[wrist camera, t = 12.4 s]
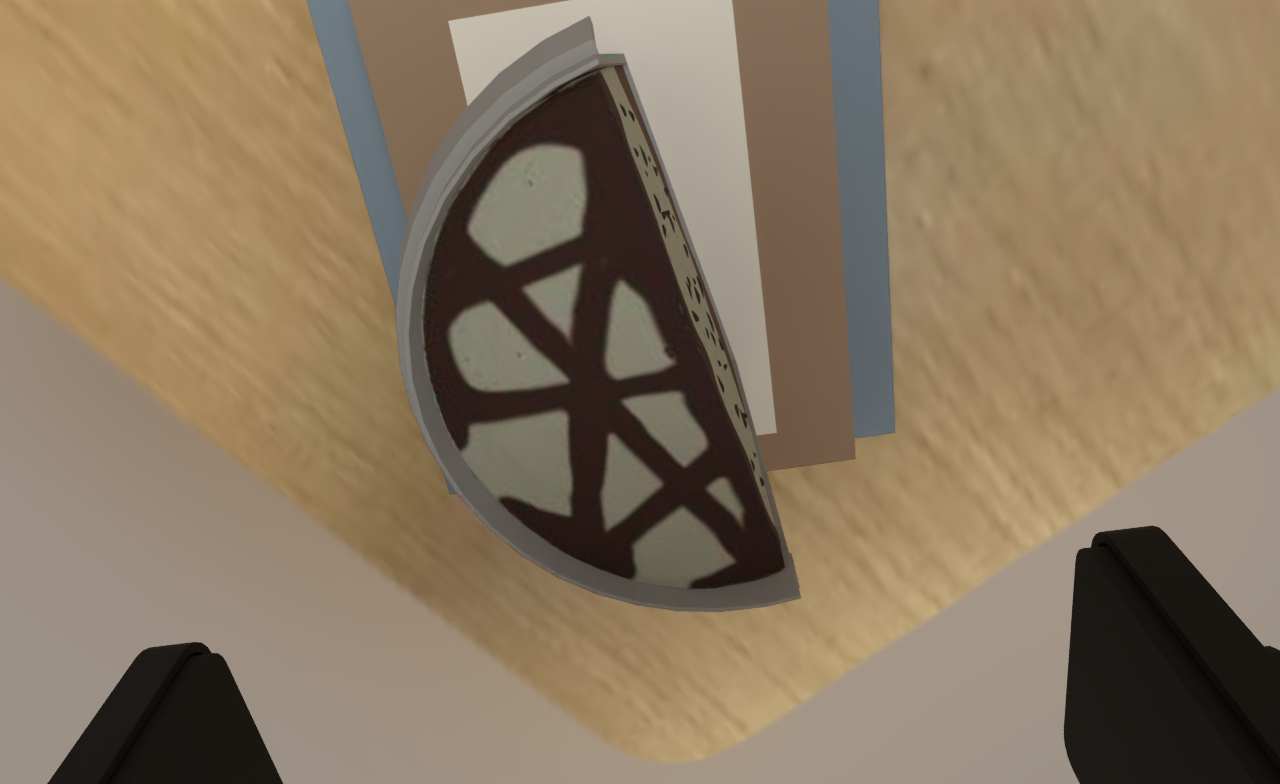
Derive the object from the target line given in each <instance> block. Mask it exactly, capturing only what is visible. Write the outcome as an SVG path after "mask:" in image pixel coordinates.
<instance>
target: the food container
mask: <svg viewBox="0 0 1280 784" xmlns="http://www.w3.org/2000/svg"><path fill="white" fill-rule="evenodd" d="M396 327H397V338H398V350H399V361H400V368H401V372H402V376H403V379H404V383H405V387H406V391H407V395H408V399H409V402H410V406H411V410H412V412H413V414H414V416H415V419H416V421H417V423H418V425H419V428H420V430H421V432H422V434H423V436H424V439H425V441H426V443H427V445H428V448H429V450H430V451H431V453H432V454H433V456H434V457H435V459H436V461H437V463H438V465H439V466H440V468H441V469H442V471H443V472H444V474H445V475H446V477H447V478H448V480H449V481H450V483H451V484H452V486H453V488H454V489H455V491H456V492H457V494H458V495H459V497H460V498H461V499H462V500H463V501H464V502H465V504H466V505H467V506H468V507H469V508H470V509H471V510H472V511H473V512H474V513H475V515H476V516H477V517H478V518H479V519H480V520H481V521H482V522H483V523H484V524H485V526H486V527H487V528H488V529H489V530H490V531H492V532H493V533H494V534H495V535H497V536H498V537H499V538H500V539H502V540H503V541H504V542H505V543H506V544H508V545H509V546H510V547H511V548H513V549H514V550H515V551H516V552H517V553H519V554H520V555H521V556H523V557H524V558H526V559H528V560H529V561H531V562H533V563H534V564H536V565H538V566H539V567H541V568H543V569H544V570H546V571H548V572H549V573H551V574H553V575H554V576H556V577H558V578H560V579H563V580H565V581H567V582H570V583H572V584H574V585H577V586H579V587H581V588H584V589H586V590H588V591H591V592H593V593H595V594H598V595H602V596H606V597H609V598H613V599H616V600H620V601H624V602H627V603H631V604H634V605H639V606H646V607H653V608H660V609H667V610H674V611H705V612H723V611H732V610H741V609H750V608H759V607H766V606H770V605H774V604H778V603H783V602H787V601H791V600H796V599H800V598H801V596H800V592H799V583H798V579H797V575H796V570H795V566H794V562H793V558H792V555H791V553H789V551H788V547H787V544H786V540H785V537H784V533H783V529H782V526H781V522H780V518H779V515H778V511H777V508H776V504H775V500H774V497H773V493H772V489H771V486H770V482H769V478H768V475H767V471H766V468H765V464H764V460H763V457H762V453H761V449H760V446H759V442H758V439H757V435H756V431H755V428H754V424H753V420H752V417H751V413H750V410H749V406H748V402H747V399H746V395H745V391H744V388H743V384H742V380H741V377H740V373H739V370H738V366H737V362H736V360H735V357H734V354H733V351H732V349H731V346H730V343H729V340H728V338H727V335H726V332H725V329H724V327H723V324H722V321H721V318H720V316H719V313H718V310H717V308H716V305H715V302H714V299H713V297H712V294H711V291H710V288H709V286H708V283H707V280H706V277H705V275H704V272H703V269H702V267H701V264H700V261H699V258H698V256H697V253H696V250H695V247H694V245H693V242H692V239H691V236H690V234H689V231H688V228H687V225H686V223H685V220H684V217H683V215H682V212H681V209H680V206H679V204H678V201H677V198H676V195H675V193H674V190H673V187H672V184H671V182H670V179H669V176H668V173H667V171H666V168H665V165H664V163H663V160H662V157H661V154H660V152H659V149H658V146H657V143H656V141H655V138H654V135H653V132H652V130H651V127H650V124H649V121H648V119H647V116H646V113H645V111H644V108H643V105H642V102H641V100H640V97H639V94H638V91H637V89H636V86H635V83H634V80H633V78H632V75H631V72H630V69H629V67H628V64H627V61H626V59H625V56H624V54H599V53H598V50H597V47H596V42H595V35H594V29H593V24H592V21H591V18H590V16H588V17H586V18H584V19H582V20H580V21H578V22H576V23H575V24H573V25H571V26H569V27H567V28H565V29H563V30H561V31H559V32H558V33H556V34H554V35H552V36H550V37H548V38H546V39H544V40H543V41H541V42H540V43H539V44H537V45H536V46H535V47H533V48H532V49H531V50H529V51H528V52H527V53H525V54H524V55H523V56H521V57H520V58H519V59H517V60H516V61H515V62H513V63H512V64H511V65H509V66H508V67H507V68H505V69H504V70H503V71H501V72H500V73H499V74H498V75H497V76H496V77H495V78H494V79H493V80H492V81H491V82H490V83H489V84H488V85H487V87H486V88H485V89H484V90H483V91H482V92H481V93H480V94H479V95H478V96H477V97H476V98H475V99H474V100H473V101H472V102H471V103H470V104H469V106H468V107H467V108H466V109H465V110H464V111H463V112H462V113H461V115H460V116H459V118H458V119H457V121H456V122H455V124H454V125H453V127H452V128H451V130H450V131H449V133H448V134H447V136H446V137H445V139H444V140H443V142H442V143H441V145H440V146H439V148H438V149H437V151H436V152H435V154H434V155H433V157H432V159H431V162H430V164H429V166H428V168H427V171H426V173H425V175H424V177H423V180H422V182H421V184H420V186H419V189H418V191H417V193H416V195H415V197H414V200H413V203H412V206H411V210H410V214H409V218H408V222H407V226H406V230H405V234H404V238H403V242H402V246H401V253H400V266H399V278H398V291H397V308H396Z"/></svg>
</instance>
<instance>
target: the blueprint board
mask: <svg viewBox="0 0 1280 784" xmlns="http://www.w3.org/2000/svg"><path fill="white" fill-rule="evenodd" d="M307 2H308V6H309V9H310V12H311V16H312V19H313V23H314V26H315V30H316V33H317V37H318V40H319V44H320V47H321V50H322V54H323V57H324V61H325V64H326V68H327V71H328V75H329V78H330V82H331V85H332V88H333V92H334V95H335V99H336V102H337V106H338V109H339V113H340V116H341V120H342V123H343V126H344V130H345V133H346V137H347V140H348V144H349V147H350V151H351V154H352V158H353V161H354V164H355V168H356V171H357V175H358V178H359V182H360V185H361V189H362V192H363V196H364V199H365V202H366V206H367V209H368V213H369V216H370V220H371V223H372V227H373V230H374V234H375V237H376V240H377V244H378V247H379V251H380V254H381V258H382V261H383V265H384V268H385V272H386V275H387V278H388V282H389V285H390V289H391V292H392V296H393V299H394V303H395V306H396V308H397V291H398V278H399V266H400V253H401V246H402V242H403V238H404V234H405V230H406V226H407V222H408V218H409V214H410V210H411V206H412V203H413V200H414V197H415V195H416V193H417V191H418V189H419V186H420V184H421V182H422V180H423V177H424V175H425V173H426V171H427V168H428V166H429V164H430V162H431V159H432V157H433V155H434V154H435V152H436V151H437V149H438V148H439V146H440V145H441V143H442V142H443V140H444V139H445V137H446V136H447V134H448V133H449V131H450V130H451V128H452V127H453V125H454V124H455V122H456V121H457V119H458V118H459V116H460V115H461V113H462V112H463V111H464V110H465V109H466V108H467V107H468V106H469V104H470V103H471V102H472V101H473V100H474V99H475V98H476V97H477V96H478V95H479V94H480V93H481V92H482V91H483V90H484V89H485V88H486V87H487V85H488V84H489V83H490V82H491V81H492V80H493V79H494V78H495V77H496V76H497V75H498V74H499V73H500V72H501V71H503V70H504V69H505V68H507V67H508V66H509V65H511V64H512V63H513V62H515V61H516V60H517V59H519V58H520V57H521V56H523V55H524V54H525V53H527V52H528V51H529V50H531V49H532V48H533V47H535V46H536V45H537V44H539V43H540V42H541V41H543V40H544V39H546V38H548V37H550V36H552V35H554V34H556V33H558V32H559V31H561V30H563V29H565V28H567V27H569V26H571V25H573V24H575V23H576V22H578V21H580V20H582V19H584V18H586V17H588V16H590V18H591V21H592V24H593V29H594V35H595V42H596V47H597V50H598V53H599V54H624V56H625V59H626V61H627V64H628V67H629V69H630V72H631V75H632V78H633V80H634V83H635V86H636V89H637V91H638V94H639V97H640V100H641V102H642V105H643V108H644V111H645V113H646V116H647V119H648V121H649V124H650V127H651V130H652V132H653V135H654V138H655V141H656V143H657V146H658V149H659V152H660V154H661V157H662V160H663V163H664V165H665V168H666V171H667V173H668V176H669V179H670V182H671V184H672V187H673V190H674V193H675V195H676V198H677V201H678V204H679V206H680V209H681V212H682V215H683V217H684V220H685V223H686V225H687V228H688V231H689V234H690V236H691V239H692V242H693V245H694V247H695V250H696V253H697V256H698V258H699V261H700V264H701V267H702V269H703V272H704V275H705V277H706V280H707V283H708V286H709V288H710V291H711V294H712V297H713V299H714V302H715V305H716V308H717V310H718V313H719V316H720V318H721V321H722V324H723V327H724V329H725V332H726V335H727V338H728V340H729V343H730V346H731V349H732V351H733V354H734V357H735V360H736V362H737V366H738V370H739V373H740V377H741V380H742V384H743V388H744V391H745V395H746V399H747V402H748V406H749V410H750V413H751V417H752V420H753V424H754V428H755V431H756V435H757V439H758V442H759V446H760V449H761V453H762V457H763V460H764V464H765V468H766V471H772V470H779V469H786V468H794V467H801V466H808V465H815V464H823V463H830V462H837V461H844V460H852V459H855V443H854V438H860V437H868V436H875V435H882V434H889V433H895V414H894V388H893V363H892V337H891V311H890V286H889V260H888V234H887V209H886V183H885V157H884V132H883V106H882V80H881V55H880V29H879V3H878V0H307ZM444 475H445V474H444ZM445 479H446V482H447V486H448V489H449V493H450V495H451V494H457V492H456V491H455V489H454V488H453V486H452V484H451V483H450V481H449V480H448V478H447V477H446V475H445Z"/></svg>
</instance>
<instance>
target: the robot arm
mask: <svg viewBox="0 0 1280 784" xmlns="http://www.w3.org/2000/svg"><path fill="white" fill-rule="evenodd" d="M1064 741H1065V747H1066V751H1067V755H1068V758H1069V761H1070V764H1071V766H1072V768H1073V771H1074V773H1075V775H1076V777H1077V779H1078V781H1079V783H1080V784H1280V650H1278V649H1275V648H1273V647H1271V646H1265V647H1264V646H1263V645H1262V644H1261V643H1260V641H1259V640H1258V639H1257V638H1256V637H1255V636H1254V635H1253V633H1252V632H1251V631H1250V630H1249V629H1248V628H1247V626H1246V625H1245V624H1244V623H1243V622H1242V621H1241V619H1240V618H1239V617H1238V616H1237V615H1236V614H1235V613H1234V611H1233V610H1232V609H1231V608H1230V607H1229V606H1228V604H1227V603H1226V602H1225V601H1224V600H1223V599H1222V598H1221V596H1220V595H1219V594H1218V593H1217V592H1216V591H1215V589H1214V588H1213V587H1212V586H1211V585H1210V584H1209V583H1208V582H1207V580H1206V579H1205V578H1204V577H1203V576H1202V574H1201V573H1200V572H1199V571H1198V570H1197V569H1196V568H1195V566H1194V565H1193V564H1192V563H1191V562H1190V561H1189V560H1188V558H1187V557H1186V556H1185V555H1184V554H1183V553H1182V551H1181V550H1180V549H1179V548H1178V547H1177V546H1176V545H1175V543H1174V542H1173V541H1172V540H1171V539H1170V538H1169V537H1168V535H1167V534H1166V533H1165V532H1164V531H1162V530H1161V529H1160V528H1159V527H1155V526H1147V527H1138V528H1130V529H1122V530H1114V531H1105V532H1099V533H1098V534H1096V535H1095V536H1094V538H1093V540H1092V545H1091V548H1083V549H1080V550H1079V551H1078V553H1077V556H1076V563H1075V578H1074V592H1073V606H1072V621H1071V636H1070V649H1069V663H1068V678H1067V694H1066V708H1065V721H1064ZM48 784H283V782H282V780H281V778H280V776H279V774H278V772H277V770H276V767H275V765H274V764H273V761H272V759H271V757H270V755H269V753H268V750H267V748H266V746H265V744H264V742H263V740H262V738H261V736H260V733H259V731H258V729H257V727H256V725H255V723H254V721H253V718H252V716H251V714H250V712H249V710H248V708H247V706H246V703H245V701H244V699H243V697H242V695H241V693H240V691H239V689H238V686H237V684H236V682H235V680H234V678H233V676H232V674H231V671H230V669H229V667H228V665H227V663H226V661H225V660H224V658H223V657H222V656H221V655H219V654H217V653H211V651H210V650H209V648H208V647H207V646H205V645H204V644H203V643H198V642H192V643H185V644H176V645H167V646H160V647H151V648H148V649H146V650H143V651H142V652H141V653H140V654H139V655H138V656H137V657H136V658H135V660H134V661H133V663H132V664H131V666H130V667H129V668H128V670H127V671H126V673H125V674H124V675H123V677H122V678H121V680H120V681H119V683H118V684H117V685H116V687H115V688H114V690H113V691H112V692H111V694H110V695H109V697H108V698H107V700H106V701H105V703H104V704H103V705H102V707H101V708H100V710H99V711H98V713H97V714H96V715H95V717H94V718H93V720H92V721H91V723H90V724H89V725H88V727H87V728H86V730H85V731H84V733H83V734H82V735H81V737H80V738H79V740H78V741H77V742H76V744H75V745H74V747H73V748H72V749H71V751H70V752H69V754H68V755H67V757H66V758H65V760H64V761H63V762H62V764H61V765H60V767H59V768H58V769H57V771H56V772H55V774H54V775H53V777H52V778H51V779H50V781H49V782H48Z"/></svg>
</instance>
